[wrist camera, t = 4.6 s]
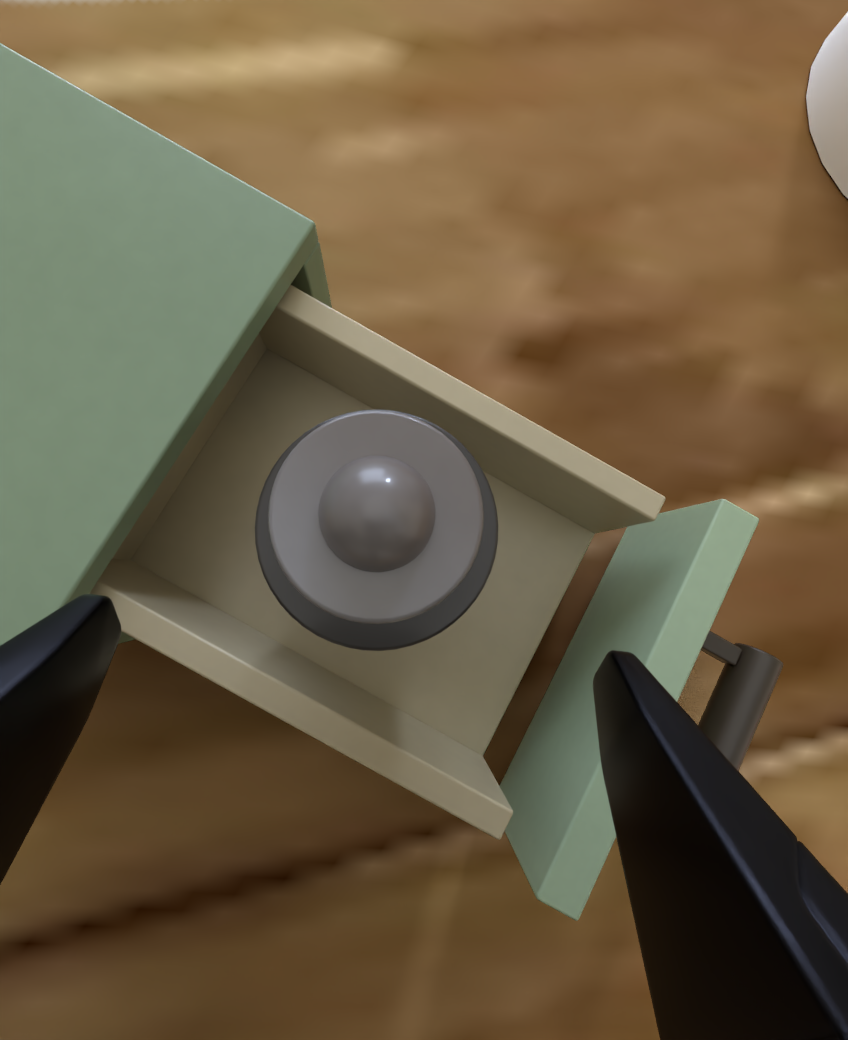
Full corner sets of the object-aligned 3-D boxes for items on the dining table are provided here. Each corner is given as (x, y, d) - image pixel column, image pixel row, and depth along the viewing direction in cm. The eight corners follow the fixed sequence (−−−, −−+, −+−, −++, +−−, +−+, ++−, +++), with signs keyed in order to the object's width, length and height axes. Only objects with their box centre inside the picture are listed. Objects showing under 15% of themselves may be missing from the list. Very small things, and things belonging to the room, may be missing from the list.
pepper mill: (408, 649, 17) (454, 784, 6) (282, 579, 17) (90, 583, 6) (476, 525, 17) (631, 437, 6) (355, 457, 17) (306, 253, 6)
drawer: (750, 587, 19) (889, 591, 14) (622, 876, 17) (724, 1004, 12) (276, 319, 19) (235, 219, 14) (102, 588, 17) (-22, 592, 12)
